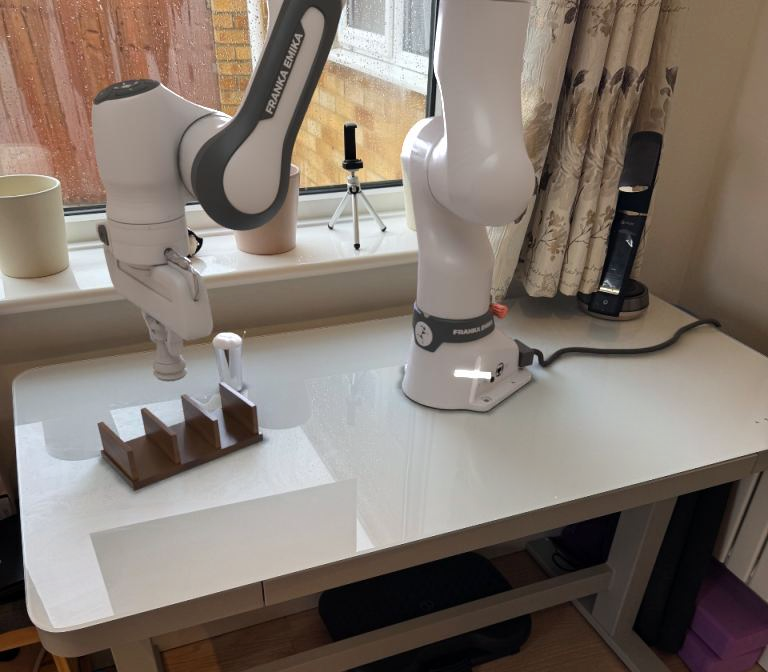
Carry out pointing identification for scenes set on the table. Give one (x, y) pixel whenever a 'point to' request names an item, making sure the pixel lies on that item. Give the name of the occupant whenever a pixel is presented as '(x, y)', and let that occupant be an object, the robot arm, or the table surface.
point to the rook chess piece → (166, 357)
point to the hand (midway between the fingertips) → (167, 347)
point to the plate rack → (182, 439)
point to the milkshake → (229, 358)
